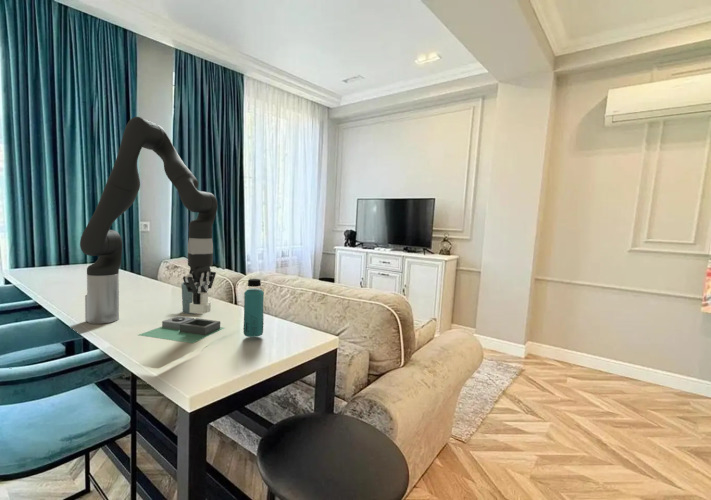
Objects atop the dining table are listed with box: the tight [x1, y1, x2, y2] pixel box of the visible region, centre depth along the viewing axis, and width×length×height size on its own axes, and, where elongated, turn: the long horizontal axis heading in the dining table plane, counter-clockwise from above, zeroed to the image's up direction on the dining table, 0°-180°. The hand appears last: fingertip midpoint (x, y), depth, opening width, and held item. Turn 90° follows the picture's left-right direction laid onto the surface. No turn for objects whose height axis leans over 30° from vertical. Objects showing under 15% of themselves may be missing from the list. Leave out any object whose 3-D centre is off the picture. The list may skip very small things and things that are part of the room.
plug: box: [189, 292, 212, 315], centre depth 112 cm, size 6×4×6 cm
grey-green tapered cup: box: [180, 281, 204, 315], centre depth 139 cm, size 10×10×12 cm
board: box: [138, 315, 225, 344], centre depth 110 cm, size 20×16×4 cm
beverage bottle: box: [242, 278, 265, 338], centre depth 111 cm, size 6×7×20 cm
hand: (200, 302), depth 112 cm, fingers closed on plug, 2 cm apart
